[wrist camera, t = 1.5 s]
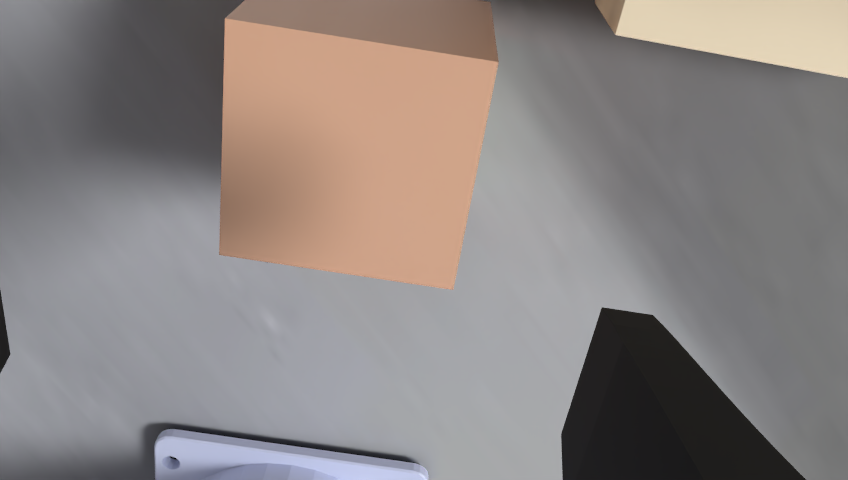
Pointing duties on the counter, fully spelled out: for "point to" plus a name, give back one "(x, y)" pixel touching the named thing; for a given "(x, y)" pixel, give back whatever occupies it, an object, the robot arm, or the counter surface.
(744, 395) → the counter surface
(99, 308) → the counter surface
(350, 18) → the terracotta cube
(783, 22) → the oak block
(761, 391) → the counter surface
